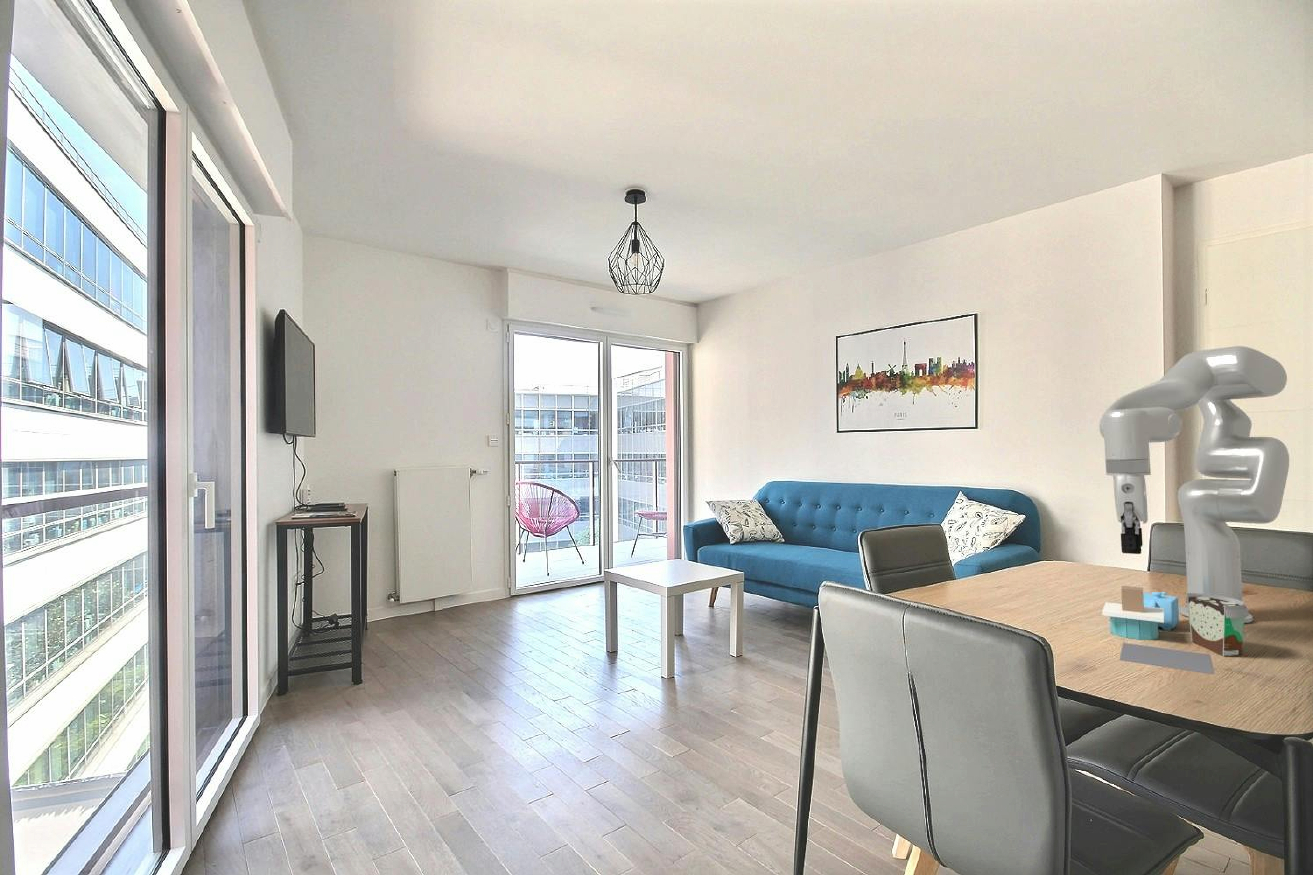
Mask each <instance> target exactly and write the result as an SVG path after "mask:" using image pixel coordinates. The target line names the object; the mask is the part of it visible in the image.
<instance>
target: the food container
mask: <svg viewBox="0 0 1313 875" xmlns="http://www.w3.org/2000/svg"><path fill="white" fill-rule="evenodd" d="M1185 604H1187V606H1188V613H1189V617H1188V622H1189V628H1190V629H1189V631H1190V641H1191V642H1192V643H1194V644H1195V645H1197V646H1200V647H1202V648H1204V649H1207V650H1209V651H1210V652H1212V653H1215V654H1217V655H1219V656H1222V658H1233V657H1240V656H1242V654H1243V639H1244V638H1243V637H1244V624H1245V623H1244V617H1247V616H1249V614H1250V613H1249V611H1248V607H1247V606H1246V605H1245V601H1243V600H1242V601H1240V600H1237V599H1233V598H1228V597H1223V596H1217V595H1209V594H1198V593H1187V592H1186V595H1185Z"/></svg>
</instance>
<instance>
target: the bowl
mask: <svg viewBox="0 0 1313 875" xmlns="http://www.w3.org/2000/svg"><path fill="white" fill-rule="evenodd" d="M1109 626H1110V629H1109V630H1110V633H1111V634H1113V635H1115V636H1118V637H1122V638H1127V639H1132V640H1133V639H1134V640H1140V641H1141V640H1144V641H1145V640H1147V641H1151V640H1156V639H1157V640H1158V639H1159V626H1158V622H1155V621H1146V620H1138V619H1129V618H1121V617H1112V616H1109Z"/></svg>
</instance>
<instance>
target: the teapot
mask: <svg viewBox="0 0 1313 875" xmlns="http://www.w3.org/2000/svg"><path fill="white" fill-rule="evenodd" d="M1143 597H1144V606H1146V607H1155V608H1164V623H1163V622H1158V628H1159V627H1160V628H1161V629H1162V630H1163V631H1166V632H1167V631H1168V632H1172V629H1174V628H1176V626H1177V625H1178V624H1179V623H1180V616H1179V614H1180V607H1179V597H1178V596H1173V595H1172V596H1171V595H1166V591H1161V592H1159V591H1152V592H1151V593H1148V592H1143Z"/></svg>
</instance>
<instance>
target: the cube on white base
mask: <svg viewBox="0 0 1313 875" xmlns="http://www.w3.org/2000/svg"><path fill="white" fill-rule="evenodd" d="M1120 590H1121V603H1116V602H1104V603H1105V604H1104V605H1103V607H1102V611H1101V615H1102V616H1106V617H1110V616H1112V617H1121V618H1129V619H1138V620H1146V621H1155V622H1163V623H1164V608H1155V607H1146V606H1144V597H1143V593H1144V587H1140V586H1127V585H1122V586H1121V588H1120Z"/></svg>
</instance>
